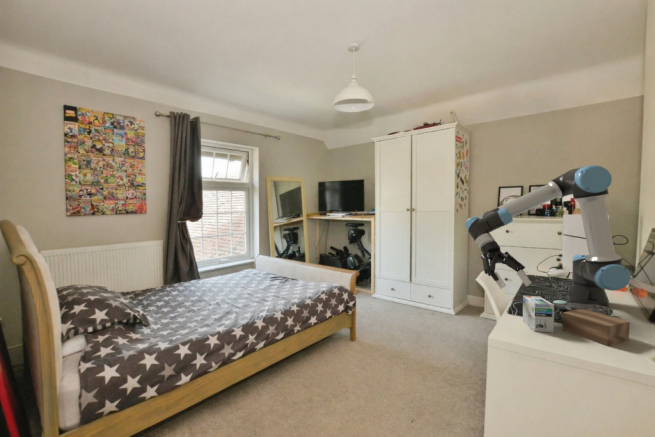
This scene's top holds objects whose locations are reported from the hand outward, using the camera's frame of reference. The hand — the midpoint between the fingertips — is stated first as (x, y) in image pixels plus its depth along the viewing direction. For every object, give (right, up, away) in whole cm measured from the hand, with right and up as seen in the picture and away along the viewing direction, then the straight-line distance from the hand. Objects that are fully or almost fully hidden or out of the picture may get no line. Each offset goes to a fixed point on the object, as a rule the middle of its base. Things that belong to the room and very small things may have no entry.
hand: (516, 285), depth 124 cm
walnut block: (+18, -15, -16) cm, 28 cm away
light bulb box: (+3, -14, -8) cm, 17 cm away
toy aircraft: (+31, -14, +5) cm, 34 cm away
